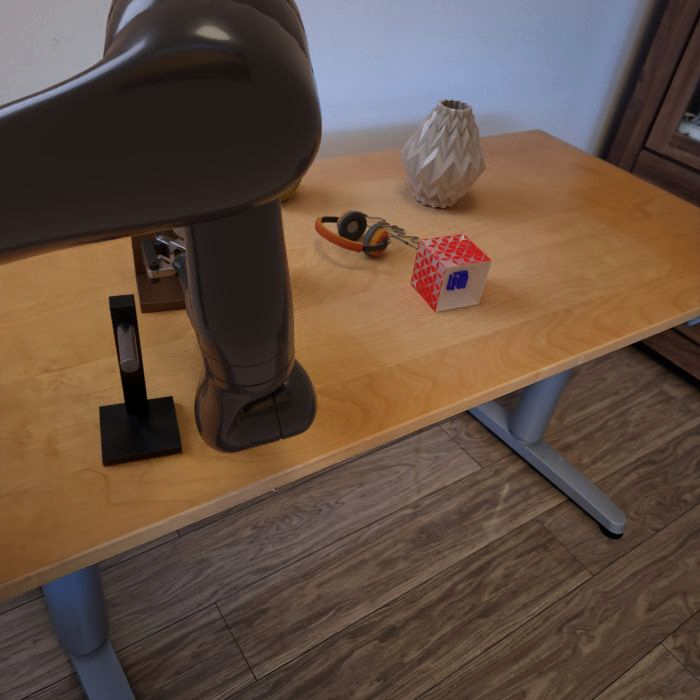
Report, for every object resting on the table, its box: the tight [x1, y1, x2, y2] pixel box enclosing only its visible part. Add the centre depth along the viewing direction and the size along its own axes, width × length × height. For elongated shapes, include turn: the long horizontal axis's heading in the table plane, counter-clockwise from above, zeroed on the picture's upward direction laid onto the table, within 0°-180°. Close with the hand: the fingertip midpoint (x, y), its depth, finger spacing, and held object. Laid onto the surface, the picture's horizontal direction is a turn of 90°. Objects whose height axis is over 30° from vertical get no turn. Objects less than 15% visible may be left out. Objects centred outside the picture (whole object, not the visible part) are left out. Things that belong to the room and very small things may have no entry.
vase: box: [400, 98, 487, 209], centre depth 117 cm, size 16×16×18 cm
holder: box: [98, 293, 183, 467], centre depth 63 cm, size 8×8×16 cm
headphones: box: [314, 210, 419, 256], centre depth 104 cm, size 17×5×20 cm
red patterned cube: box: [410, 233, 493, 313], centre depth 94 cm, size 8×8×8 cm
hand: (197, 225), depth 77 cm, fingers open, 8 cm apart
